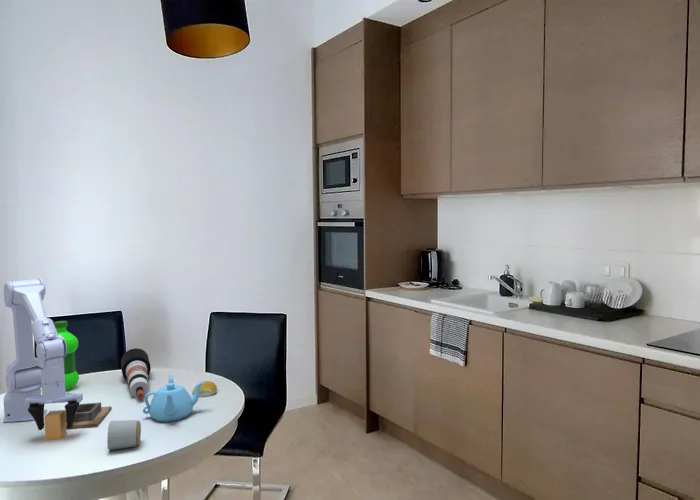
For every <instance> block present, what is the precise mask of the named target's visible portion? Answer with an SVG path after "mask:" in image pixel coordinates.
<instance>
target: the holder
mask: <svg viewBox="0 0 700 500" xmlns="http://www.w3.org/2000/svg"><path fill="white" fill-rule="evenodd" d="M111 411H112V406H110V405H109V406H102V402H90V403H89V402H87V403H79V405H78V407H77V410H76V413H75V416H74V420H73V426H72V427H71V428H68V427H67V415H66V430H74V429H75V430H76V429H87V428H88V429H89V428H98V427H99V425H100V424H101V423H102V421H103V420H104V419H105V418H106V417H107V416H108V415H109V413H110V412H111ZM65 414H66V410H65Z"/></svg>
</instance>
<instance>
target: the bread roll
mask: <svg viewBox="0 0 700 500" xmlns="http://www.w3.org/2000/svg"><path fill="white" fill-rule="evenodd" d="M204 381H205V382H204V383H203V384H202V385H201V387H200V390H199V398H206V397H211V396H213V395H215V394H216V393H217V388H218V387H217V385H216V384H215V383H214V382H213V381H210V380H204ZM195 387H196V385H195V386H193V389H192V396H193V395H194V393H195Z"/></svg>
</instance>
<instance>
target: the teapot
mask: <svg viewBox="0 0 700 500" xmlns="http://www.w3.org/2000/svg"><path fill="white" fill-rule="evenodd" d="M205 381H206V380H204V381H200V382H198V383H197V384H196V385H195V386H196V387H195V386H194V387H195V393H194V395H193V394H192V396H191V395H190V393H189V392H188V391H187V389H186V388H185V387H184V386H182V385H181V384H176V383H175V382H174V376H172V375H168V383H166V384H165V385H164V386H161V387H160V388H159V389H157V390H156V391H153V390H152V391H148V393H147V394H146V395H145V396H144V403H145V406H144V407H143V409H142V413H143V414H144V415H149V416H151V417H152V418H153V420H155V421H158V422H162V423H163V422H166V423H167V422H175V421H179V420H182V419H184V418H186V417H188V416H189V415H190V414H191V412H192V411H193V408H194V406H195V405H196V404H197V403H198V401H199V398H200V397H199V390H200V387H201V385H202V384H203V383H204V382H205ZM150 395H151V396H152V395H153V397H152V400H151V401H150V403H149V400H148V397H149V396H150Z"/></svg>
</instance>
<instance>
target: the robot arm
mask: <svg viewBox="0 0 700 500" xmlns="http://www.w3.org/2000/svg"><path fill="white" fill-rule="evenodd" d="M45 295H46V283H45V282H44V280H43V279H42V278H39V277H38V278H34V279H23V280H13V281H11V280H7V281H6V282H5V283H4V286H3V297H4V298H3V299H4V300H3V301H4V306H5V307H6V308H9V309H10V308H11V313H12V320H13V332H14V343H15V344H14V346H15V357H16V358H15V360H14V361H12V362H11V363H10V364H8V366H6V373H5V384H6V387H7V391H6V392H5V394H4V396H3V413H4V419H3V423H13V422H24V421H25V422H26V421H34V422H35V424H36V427H37V430H38V431H43V429H45V419H44V416H45V415H44V414H45V413H46V412H47V411H48V409H46V408H45V405H46V404H47V405H49V404H60V403H61V404H62V403H66V404H65V405H64V410H65V411H66V415H67V427H68V428H71V427H72V426H73V420H74V416H75V413H76V410H77V407H78V405H79V404H81V403H82V401H83V400H84V399H83V397H84V395H83V393H82V392H81V393H73V392H71V393H70V392H66V391H65V375H64V358H63V357H65V356H66V354H67V346H66V342H65V340H64V338H63V337H61V335H58V333H57V331H56V328H55V326H54V320H53V319H51V318H49V317H47V314H46V310H45V307H44V303H43V301H44V299H45ZM34 341H35V344H36V348H35V350H34ZM34 351H35V352H36V357H35V352H34Z"/></svg>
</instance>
